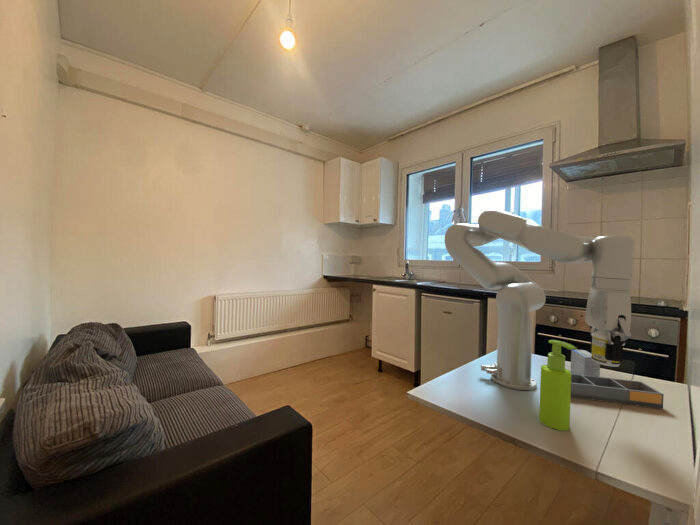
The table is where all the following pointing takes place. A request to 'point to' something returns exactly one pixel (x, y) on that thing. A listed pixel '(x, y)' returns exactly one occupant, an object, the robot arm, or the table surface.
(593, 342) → the supplement bottle
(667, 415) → the table surface
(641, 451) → the table surface
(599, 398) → the rack
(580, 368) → the medicine box
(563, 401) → the soap dispenser
